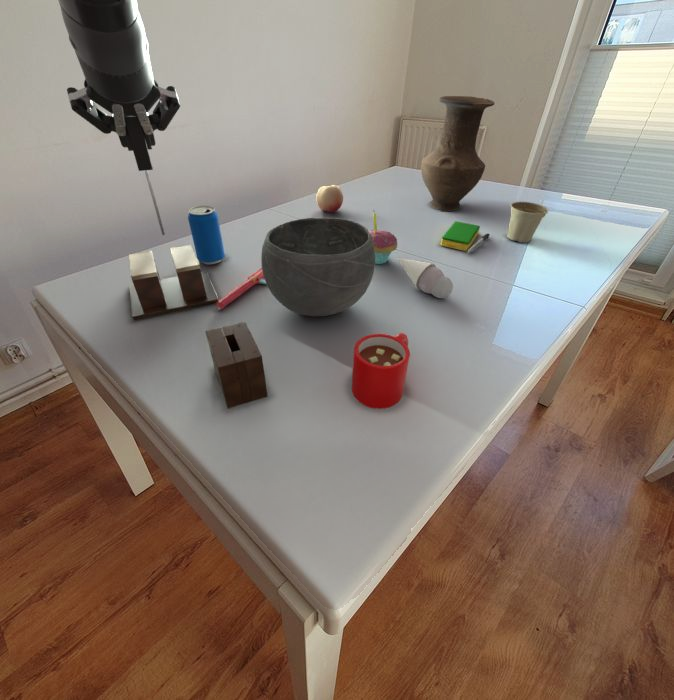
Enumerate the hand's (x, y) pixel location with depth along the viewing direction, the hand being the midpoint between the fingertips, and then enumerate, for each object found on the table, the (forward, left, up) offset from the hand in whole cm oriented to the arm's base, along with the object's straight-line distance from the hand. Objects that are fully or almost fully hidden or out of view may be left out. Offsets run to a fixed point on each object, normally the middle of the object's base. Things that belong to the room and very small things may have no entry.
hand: (138, 144), depth 58 cm
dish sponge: (+71, +21, -29) cm, 79 cm away
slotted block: (-2, +4, -29) cm, 29 cm away
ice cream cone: (+50, -2, -29) cm, 58 cm away
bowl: (+27, -5, -29) cm, 40 cm away
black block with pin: (0, -2, -13) cm, 13 cm away
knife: (+73, +15, -29) cm, 80 cm away
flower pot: (+88, +19, -29) cm, 94 cm away
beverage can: (+5, +20, -29) cm, 35 cm away
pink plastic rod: (+15, +6, -29) cm, 33 cm away
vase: (+79, +48, -29) cm, 97 cm away
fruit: (+40, +49, -29) cm, 69 cm away
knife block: (+11, -25, -29) cm, 40 cm away
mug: (+33, -29, -29) cm, 53 cm away
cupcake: (+45, +13, -29) cm, 55 cm away
